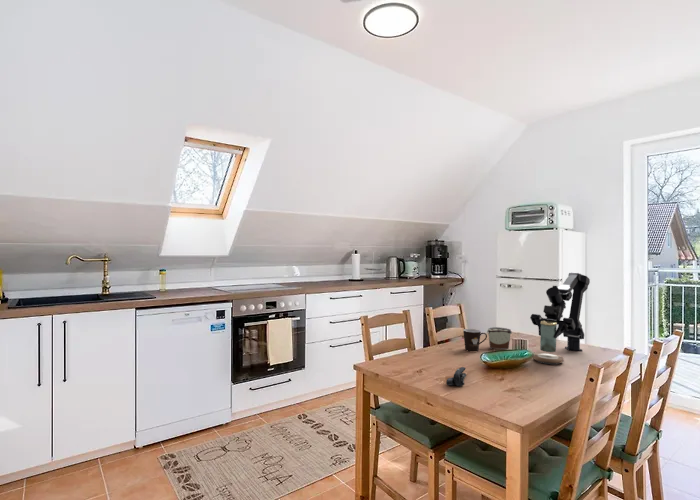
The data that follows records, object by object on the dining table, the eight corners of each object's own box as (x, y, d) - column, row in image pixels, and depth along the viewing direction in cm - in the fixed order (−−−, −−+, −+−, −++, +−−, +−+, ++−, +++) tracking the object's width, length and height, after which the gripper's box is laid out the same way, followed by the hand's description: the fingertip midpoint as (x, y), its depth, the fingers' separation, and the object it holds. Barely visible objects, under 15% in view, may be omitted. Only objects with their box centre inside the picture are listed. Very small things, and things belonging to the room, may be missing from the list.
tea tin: (539, 347, 199) (540, 320, 199) (555, 349, 196) (556, 321, 196) (540, 351, 193) (540, 322, 192) (556, 352, 190) (557, 324, 190)
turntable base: (533, 358, 200) (533, 356, 200) (555, 359, 199) (555, 357, 199) (539, 363, 190) (539, 362, 190) (563, 365, 189) (563, 363, 189)
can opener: (463, 390, 156) (463, 375, 156) (444, 387, 159) (444, 372, 159) (473, 376, 171) (473, 363, 171) (455, 374, 175) (456, 360, 175)
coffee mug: (462, 351, 211) (463, 331, 211) (463, 347, 219) (463, 328, 219) (487, 353, 208) (487, 333, 208) (486, 349, 216) (487, 329, 216)
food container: (508, 346, 223) (508, 327, 223) (511, 349, 217) (511, 329, 217) (484, 345, 224) (484, 326, 224) (487, 348, 218) (487, 329, 218)
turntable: (529, 354, 202) (529, 351, 202) (557, 356, 200) (557, 353, 200) (537, 362, 189) (537, 359, 189) (568, 363, 187) (568, 360, 187)
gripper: (532, 297, 203) (521, 322, 196) (573, 301, 190) (564, 328, 182) (538, 311, 209) (528, 337, 202) (579, 316, 195) (570, 343, 188)
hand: (547, 336), depth 193 cm, fingers closed on tea tin, 7 cm apart
